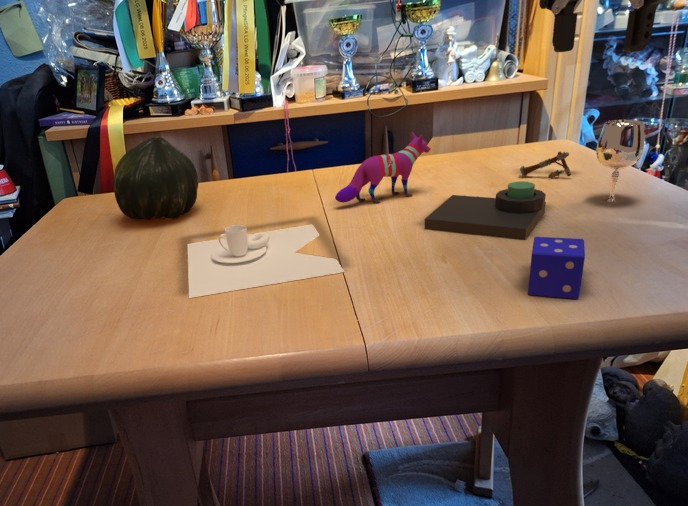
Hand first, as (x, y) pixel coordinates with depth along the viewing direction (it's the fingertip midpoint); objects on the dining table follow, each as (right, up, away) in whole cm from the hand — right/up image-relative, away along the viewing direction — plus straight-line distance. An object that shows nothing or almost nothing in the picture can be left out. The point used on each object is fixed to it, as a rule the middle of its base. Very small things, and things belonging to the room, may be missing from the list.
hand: (596, 51), depth 59 cm
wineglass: (+15, -12, +24) cm, 31 cm away
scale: (-3, -14, +24) cm, 28 cm away
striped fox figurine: (-16, -9, +39) cm, 43 cm away
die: (-3, -25, +4) cm, 25 cm away
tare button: (+1, -11, +23) cm, 25 cm away
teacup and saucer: (-36, -20, +21) cm, 47 cm away
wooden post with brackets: (+13, -5, +41) cm, 43 cm away
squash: (-55, -11, +44) cm, 71 cm away
